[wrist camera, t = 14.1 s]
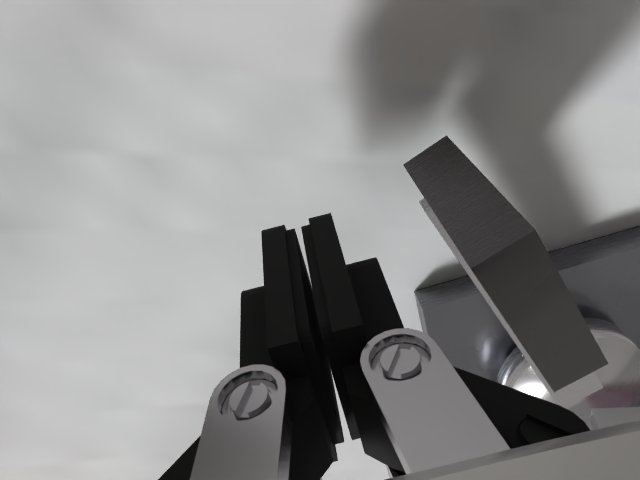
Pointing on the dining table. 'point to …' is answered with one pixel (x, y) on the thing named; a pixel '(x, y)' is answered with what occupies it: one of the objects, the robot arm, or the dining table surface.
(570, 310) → the crank
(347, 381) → the robot arm
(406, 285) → the dining table surface
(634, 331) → the winch base
